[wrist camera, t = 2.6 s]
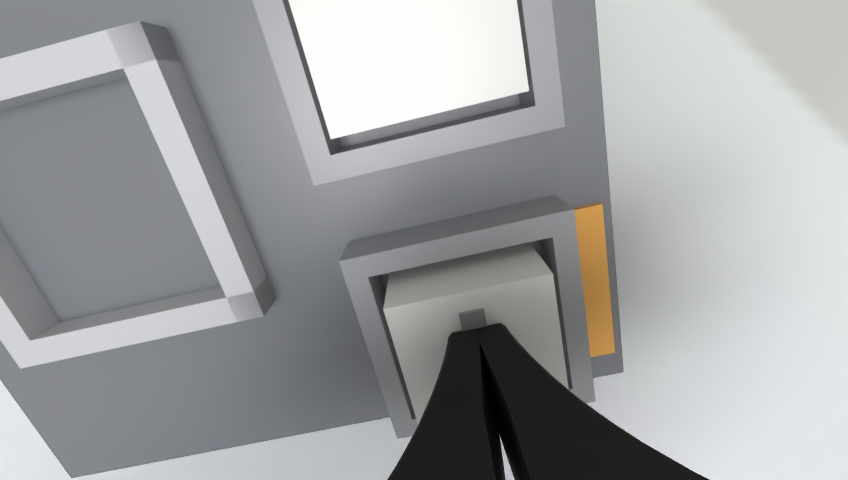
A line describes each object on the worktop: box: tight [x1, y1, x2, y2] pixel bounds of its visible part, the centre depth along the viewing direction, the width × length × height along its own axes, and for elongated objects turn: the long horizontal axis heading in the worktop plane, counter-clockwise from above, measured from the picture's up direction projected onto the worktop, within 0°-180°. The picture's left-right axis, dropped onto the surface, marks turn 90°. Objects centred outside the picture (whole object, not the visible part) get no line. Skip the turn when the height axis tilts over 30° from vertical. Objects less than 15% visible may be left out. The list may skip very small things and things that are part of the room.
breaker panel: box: [0, 0, 623, 478], centre depth 11 cm, size 15×20×4 cm
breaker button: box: [383, 242, 569, 424], centre depth 11 cm, size 4×4×3 cm
